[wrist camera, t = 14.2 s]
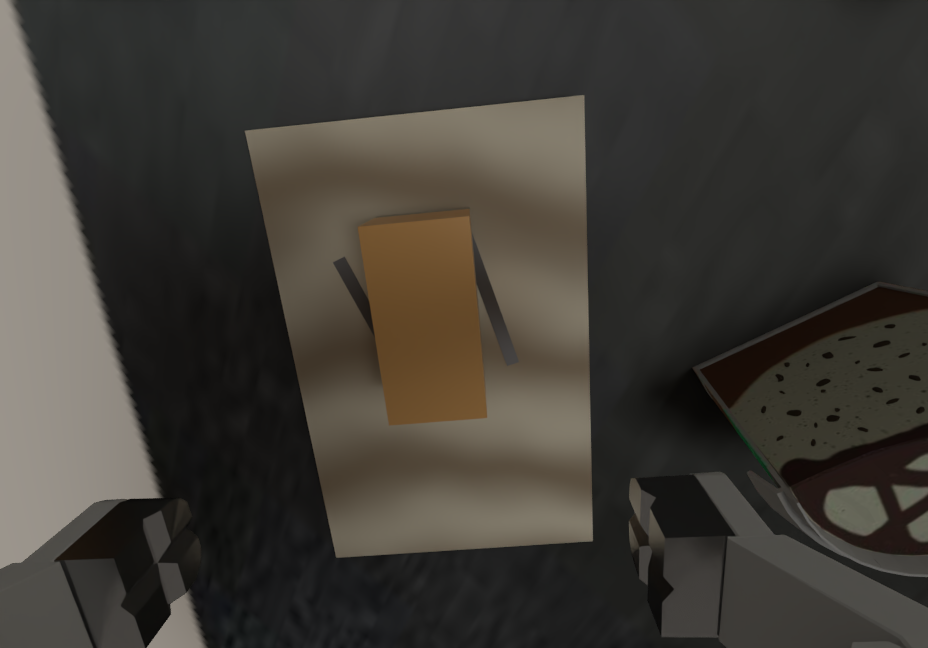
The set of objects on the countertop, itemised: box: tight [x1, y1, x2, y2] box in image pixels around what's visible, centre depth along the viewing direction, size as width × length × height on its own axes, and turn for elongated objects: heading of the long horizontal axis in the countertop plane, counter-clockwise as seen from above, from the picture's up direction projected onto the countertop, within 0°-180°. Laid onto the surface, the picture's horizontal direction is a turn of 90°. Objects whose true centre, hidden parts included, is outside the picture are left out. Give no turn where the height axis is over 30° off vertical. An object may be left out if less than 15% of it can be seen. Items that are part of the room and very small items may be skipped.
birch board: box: [245, 95, 593, 558], centre depth 24 cm, size 22×14×2 cm, turn 5°
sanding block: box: [358, 207, 487, 426], centre depth 21 cm, size 8×4×4 cm, turn 5°
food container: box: [692, 281, 928, 577], centre depth 20 cm, size 12×6×10 cm, turn 119°
